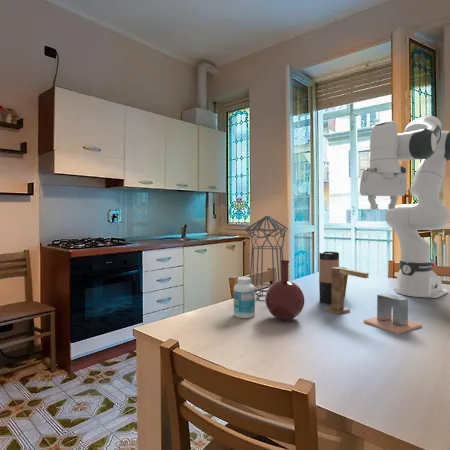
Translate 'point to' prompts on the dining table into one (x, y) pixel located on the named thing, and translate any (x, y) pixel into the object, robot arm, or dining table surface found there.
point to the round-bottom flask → (284, 296)
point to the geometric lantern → (275, 225)
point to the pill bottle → (244, 298)
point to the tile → (390, 327)
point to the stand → (341, 288)
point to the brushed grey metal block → (399, 309)
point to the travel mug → (327, 275)
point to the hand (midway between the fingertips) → (383, 209)
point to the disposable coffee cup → (345, 281)
